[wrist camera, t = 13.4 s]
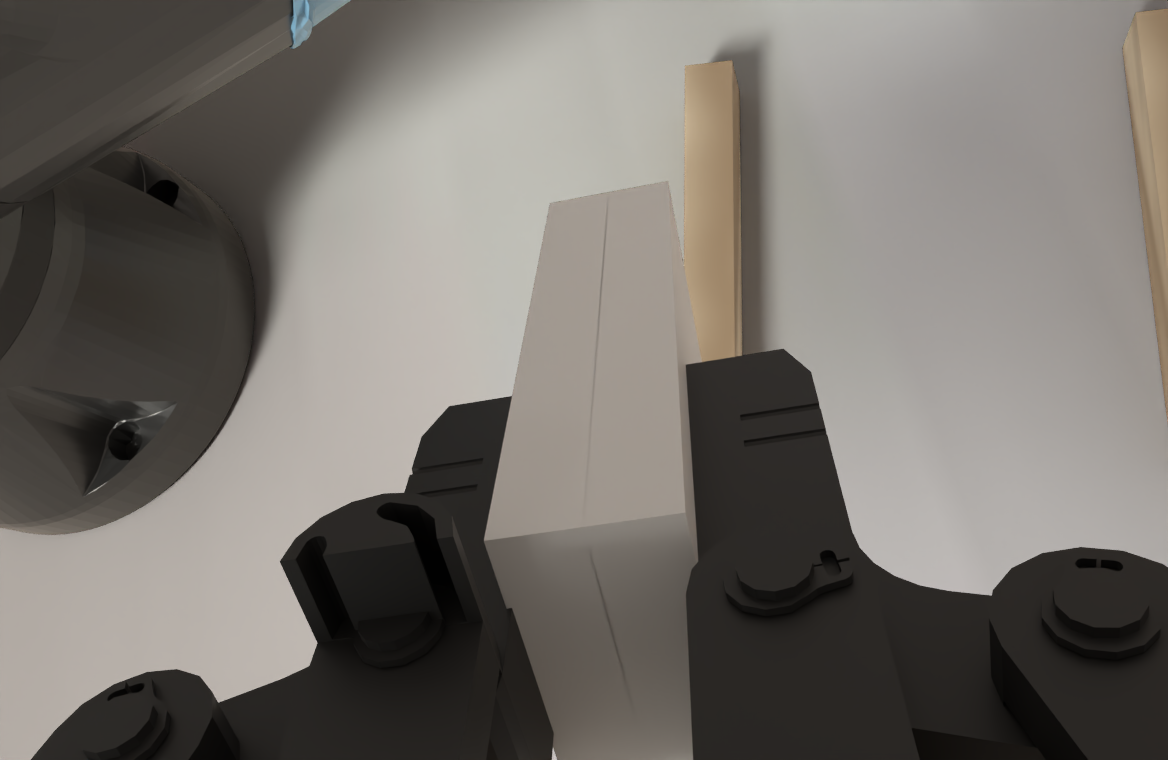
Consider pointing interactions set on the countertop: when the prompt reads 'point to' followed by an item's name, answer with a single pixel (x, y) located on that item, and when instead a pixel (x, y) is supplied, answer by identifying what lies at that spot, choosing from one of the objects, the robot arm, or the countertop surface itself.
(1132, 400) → the countertop surface
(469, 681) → the robot arm
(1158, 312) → the grey-brown thin walls
